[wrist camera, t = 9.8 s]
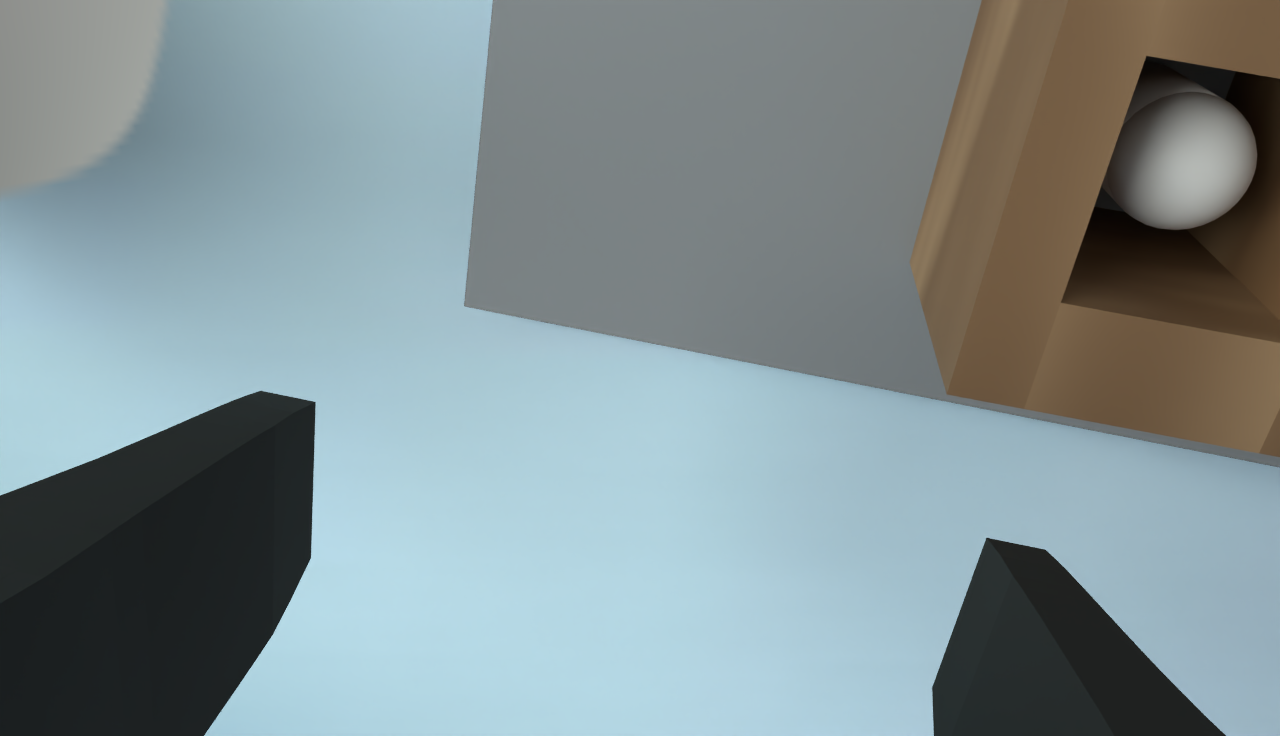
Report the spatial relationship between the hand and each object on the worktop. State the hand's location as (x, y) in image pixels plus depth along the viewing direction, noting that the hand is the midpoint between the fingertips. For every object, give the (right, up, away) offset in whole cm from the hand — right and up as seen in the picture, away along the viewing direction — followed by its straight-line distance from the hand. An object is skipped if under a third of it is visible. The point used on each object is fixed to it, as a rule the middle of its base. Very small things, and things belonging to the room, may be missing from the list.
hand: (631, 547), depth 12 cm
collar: (+8, +6, +6) cm, 11 cm away
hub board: (+8, +8, +6) cm, 12 cm away
